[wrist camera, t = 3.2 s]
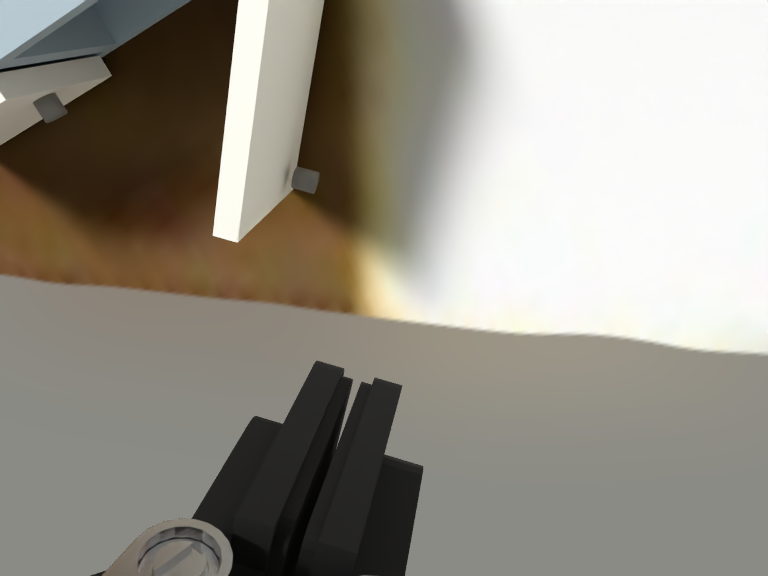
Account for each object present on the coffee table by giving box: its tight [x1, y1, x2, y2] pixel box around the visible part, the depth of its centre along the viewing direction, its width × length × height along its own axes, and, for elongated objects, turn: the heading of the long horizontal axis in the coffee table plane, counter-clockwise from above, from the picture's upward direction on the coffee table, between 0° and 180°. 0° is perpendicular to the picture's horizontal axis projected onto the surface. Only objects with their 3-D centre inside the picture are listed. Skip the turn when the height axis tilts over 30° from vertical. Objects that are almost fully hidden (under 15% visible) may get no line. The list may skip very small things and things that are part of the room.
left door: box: [213, 0, 324, 242], centre depth 25 cm, size 11×2×8 cm, turn 167°
